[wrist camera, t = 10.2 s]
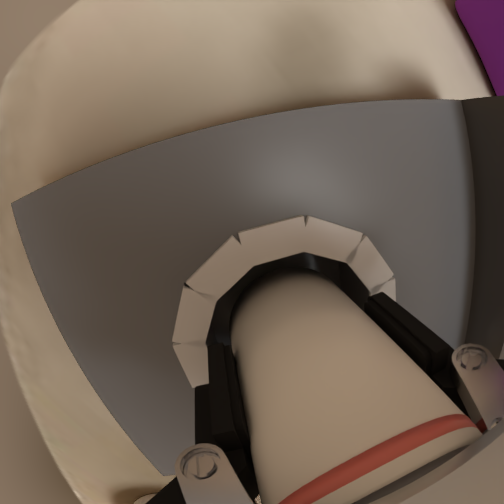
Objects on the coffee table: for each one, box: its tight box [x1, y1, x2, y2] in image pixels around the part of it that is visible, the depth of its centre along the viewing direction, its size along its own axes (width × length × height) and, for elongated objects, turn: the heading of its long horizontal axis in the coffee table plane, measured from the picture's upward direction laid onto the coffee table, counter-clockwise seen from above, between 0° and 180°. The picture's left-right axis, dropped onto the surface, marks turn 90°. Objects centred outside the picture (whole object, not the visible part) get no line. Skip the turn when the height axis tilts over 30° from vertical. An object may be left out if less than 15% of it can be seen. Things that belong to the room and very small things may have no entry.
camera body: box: [11, 95, 504, 476], centre depth 12 cm, size 22×16×7 cm
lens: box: [229, 267, 483, 504], centre depth 8 cm, size 5×5×9 cm
